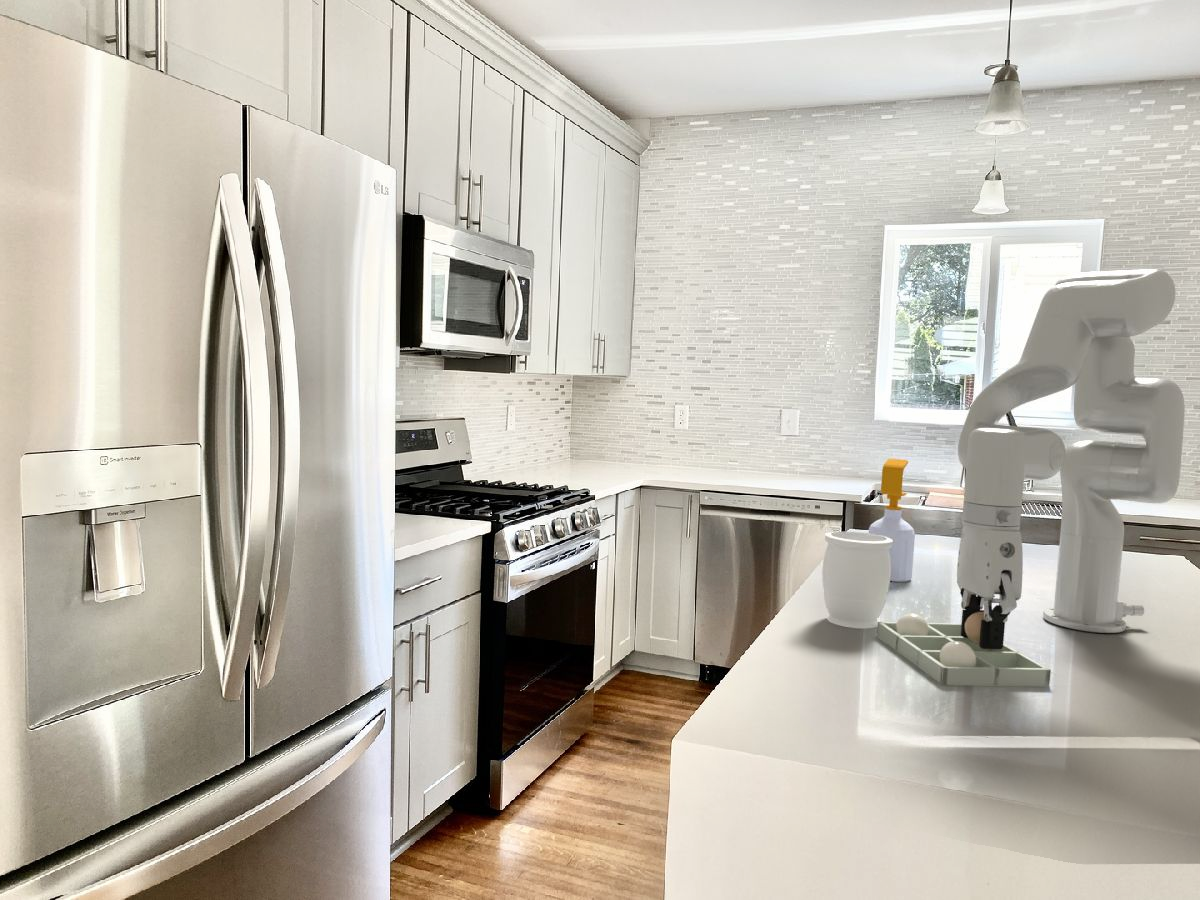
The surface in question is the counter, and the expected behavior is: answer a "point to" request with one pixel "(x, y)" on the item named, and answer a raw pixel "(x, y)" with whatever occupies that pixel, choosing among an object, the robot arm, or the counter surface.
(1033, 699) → the counter surface
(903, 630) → the cream egg
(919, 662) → the egg tray
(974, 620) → the brown egg
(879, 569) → the jar
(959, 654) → the cream egg
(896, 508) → the soap bottle
